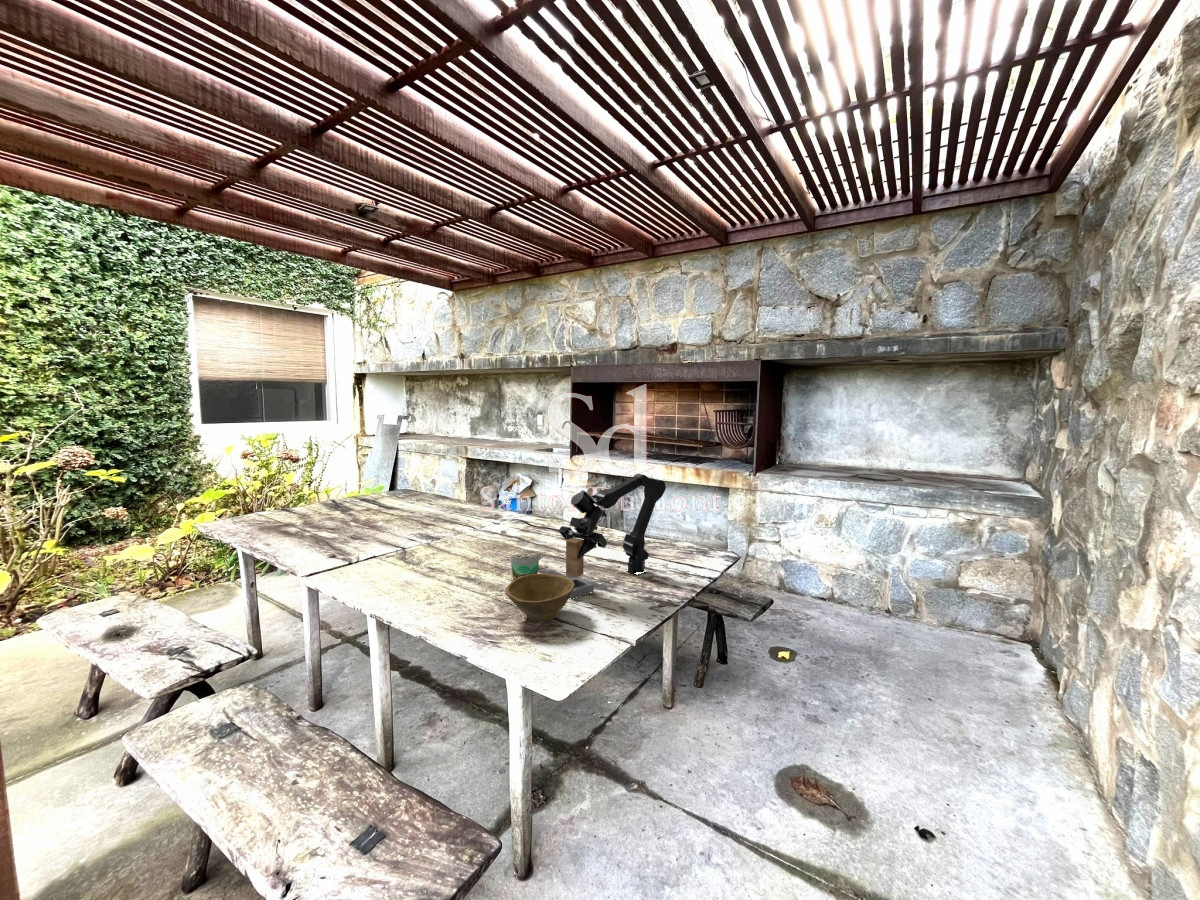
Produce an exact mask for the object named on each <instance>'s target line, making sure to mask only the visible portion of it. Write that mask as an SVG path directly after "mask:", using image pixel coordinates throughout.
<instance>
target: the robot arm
mask: <svg viewBox="0 0 1200 900" xmlns="http://www.w3.org/2000/svg"><path fill="white" fill-rule="evenodd" d="M639 487H644V488H643V493H644V497H643V498H644V499H643V502H642V505H641V507H640V510H639V512H638V516H637V518H636V521H635V524H634V527H633V529H632V531H631V532H630V533H626V534H625V535H624V539H623V540H622V549H623V551H624V552H625V555H626V556H628V562H627V569H628V572H627V573H629V572H631V573H636V572H643V571H644V569H645V568H646V560H649V556H650V554H649V552H648V551H647V550H646V548H645V547H646V546H645V545H646V541H645V540H646V539H645V535H646V531H647V528H648V526H649V523H650V520H651V517H652V515H653V512H654V509H655V506H656V504H657V502H658V501H659V500H660V499H661V498H662V497H663V495H664V493H665V491H666V489H667V485H666V482H665V481H664V480H661V479H657V478H653V477H649V476H647V475H646V474H642V473H636V474H634V475H633V476H631V477H630V478H628V479H626V480H625V481H623V482H621V483H619V484H617V485H615V486H614V487H612V488H611V487H610V488H606V489H602V490H600V491H599V490H598V491H597V492H596V493H595V494H593V495H591V496H590V495H589V494H588V492H586V491H585V490H581V491H580V492H577V493H576V494H574V495H573V496H572V498H571V500H570V504H571V505H572V506H573V507H575V509H577V511H579V512H580V513H581V514H584V517H580V518H578V517H574V516H573V517H571V519H570V523H569V526H565V525H561V526H560V528H559V530H558V533H559V534H560V535H561V536H562V538H563V539H565V541H566V540H569V539H571V538H579V539H583V540H584V542H583V545H582V547H581V549H580V551H579V553H578V556H577V558H578V559H580V558H581V557H582V556H583V555H584V556H585V555H586V554H587V553H588V552H590V551H592V550H593V549H596V548H597V546H598V547H599V548H602V549H603V548H604V549H606V547H607V545H608V541H607V539H606V538H605V536H604V535H603V533H599V532H595V531H598V529H599V527H598V524H599V522H600V519H601V518H607V513H606V510H605V509H607V510H608V509H611V508H612V507H613V506H615V505H616V504H617V503H618V501H619V500H620V499H621V498H623V497H624V496H627V494H629V493H631V492H632V491H635V490H636V489H638V488H639ZM602 508H604V509H602ZM571 527H573V529H574V531H573V529H572V528H571ZM645 570H646V569H645ZM631 573H630V574H631Z"/></svg>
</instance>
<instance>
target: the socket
mask: <svg viewBox="0 0 1200 900" xmlns="http://www.w3.org/2000/svg"><path fill="white" fill-rule="evenodd" d="M569 579H570V580H572V581H573V582H574V585H575V586H574V589H573V592H572V593H571V595H570V597H569V598H571V599H573V598H576V597H579V596H582V595H585V594H588V593H590V592H593V591H595V587H594V585H595V584H593V583H591V582H589V581H586V580H584V579H583V578H581V577H580V576H579V577H577V578H574V577H571V578H569ZM588 595H589V594H588ZM585 596H586V595H585ZM582 597H583V596H582ZM579 598H580V597H579ZM571 599H570V600H571ZM576 599H577V598H576ZM573 600H574V599H573Z"/></svg>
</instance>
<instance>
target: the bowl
mask: <svg viewBox="0 0 1200 900" xmlns="http://www.w3.org/2000/svg"><path fill="white" fill-rule="evenodd" d="M570 579H571V578H568V576H567V577H566V576H563V575H558V574H551V573H543V572H542V573H538V574H530V575H526V576H522V577H519V578H517V579H515V580H512V581H511V582H510V583H509V584H508V585H506V589H505V593H506V597H508V599H510V601H511V602H512V603H513V604H514V605H515V606H516V608H517V609H519V610H520V612H522V613H523V614H524V615H526V616H527V617H528V618H529V619H530V620H531V621H533V622H542V623H543V622H548V621H551V620H553V619H555V618H556V616H557V615H558V614H559V612H561V610H562V609H563V607H565V606H566V605H567V602H568V601H569V597H570V595H571V593H572V592H573V589H574V586H575V585H574V582H573V581H572V580H570Z"/></svg>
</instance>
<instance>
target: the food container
mask: <svg viewBox="0 0 1200 900" xmlns="http://www.w3.org/2000/svg"><path fill="white" fill-rule="evenodd" d="M541 559H542V555H541V554H540V552H538V553H537V554H521V555H516V556H515V555H514V556H513V555H512V554H511V553H510V554H509V558H508V560H509V562H510V566H511V574H512V581H514V580H515V579H517V578H519V577H522V576H526V575H530V574H539V573H538V571H539V563H540V560H541Z"/></svg>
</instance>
